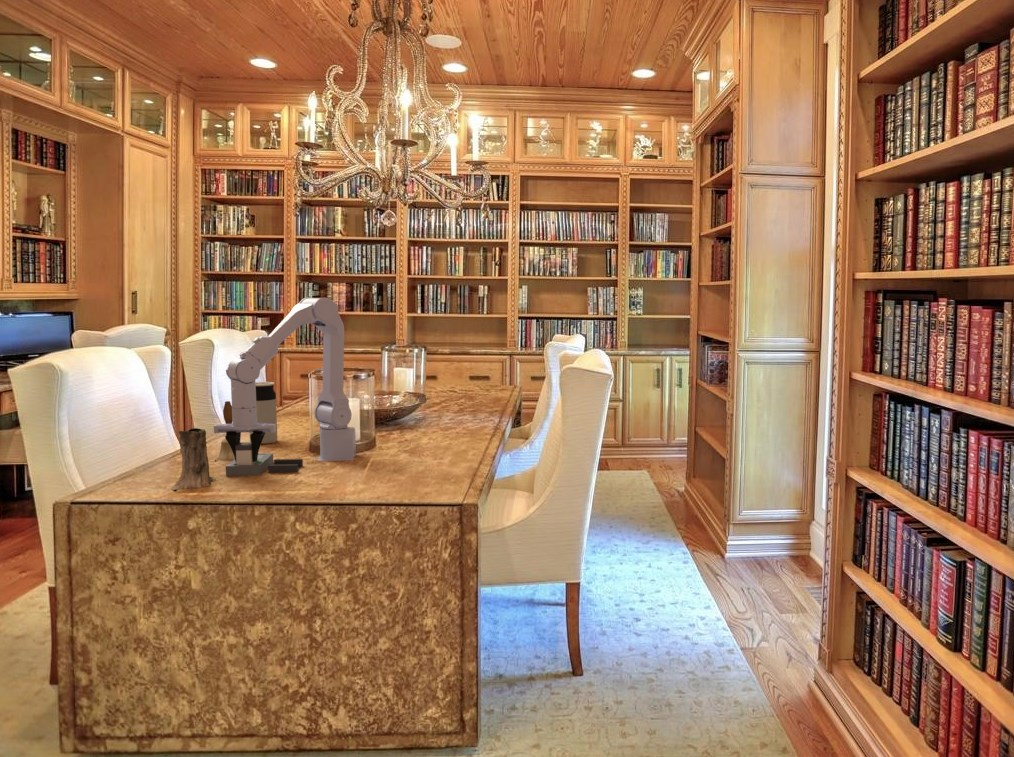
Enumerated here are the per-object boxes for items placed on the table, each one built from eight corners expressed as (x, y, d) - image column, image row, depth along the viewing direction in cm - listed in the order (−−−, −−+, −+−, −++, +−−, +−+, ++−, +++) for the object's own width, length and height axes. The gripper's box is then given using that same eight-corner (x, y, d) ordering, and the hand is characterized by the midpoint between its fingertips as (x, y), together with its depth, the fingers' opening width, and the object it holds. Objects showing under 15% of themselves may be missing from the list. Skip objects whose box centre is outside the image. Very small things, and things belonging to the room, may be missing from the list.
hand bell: (236, 463, 191) (233, 404, 190) (208, 461, 193) (205, 403, 191) (253, 456, 200) (250, 399, 198) (226, 455, 201) (223, 398, 199)
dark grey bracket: (302, 467, 187) (302, 458, 186) (297, 474, 180) (296, 465, 179) (275, 468, 186) (274, 459, 186) (268, 475, 179) (268, 465, 179)
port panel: (273, 464, 190) (273, 451, 190) (259, 477, 177) (259, 464, 176) (242, 464, 190) (241, 452, 189) (226, 478, 176) (225, 464, 176)
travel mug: (283, 441, 221) (281, 382, 218) (261, 445, 214) (259, 385, 212) (265, 438, 225) (263, 380, 223) (244, 442, 218) (241, 383, 216)
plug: (255, 467, 181) (254, 442, 180) (251, 471, 177) (250, 445, 176) (240, 467, 181) (239, 442, 180) (236, 471, 177) (235, 445, 176)
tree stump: (170, 493, 162) (168, 434, 161) (172, 483, 171) (170, 427, 170) (218, 489, 166) (216, 432, 165) (217, 480, 175) (215, 425, 174)
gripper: (208, 409, 173) (211, 465, 175) (270, 409, 174) (272, 464, 176) (217, 405, 180) (220, 458, 182) (277, 404, 181) (279, 457, 183)
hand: (246, 461), depth 179 cm, fingers closed on plug, 3 cm apart
